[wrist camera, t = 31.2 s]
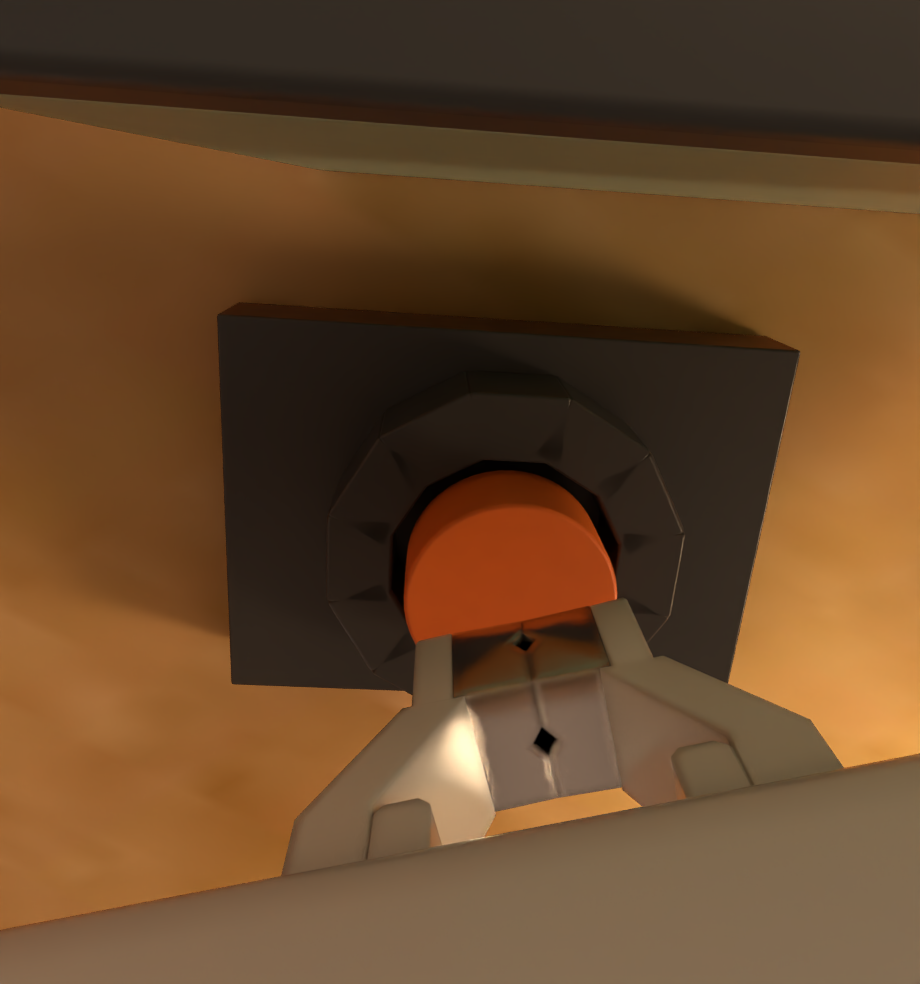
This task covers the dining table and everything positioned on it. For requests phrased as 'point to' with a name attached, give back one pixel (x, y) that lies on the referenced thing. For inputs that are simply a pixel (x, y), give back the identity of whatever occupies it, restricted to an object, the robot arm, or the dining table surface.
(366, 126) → the green box
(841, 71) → the lid
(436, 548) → the button
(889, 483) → the dining table surface
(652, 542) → the block
